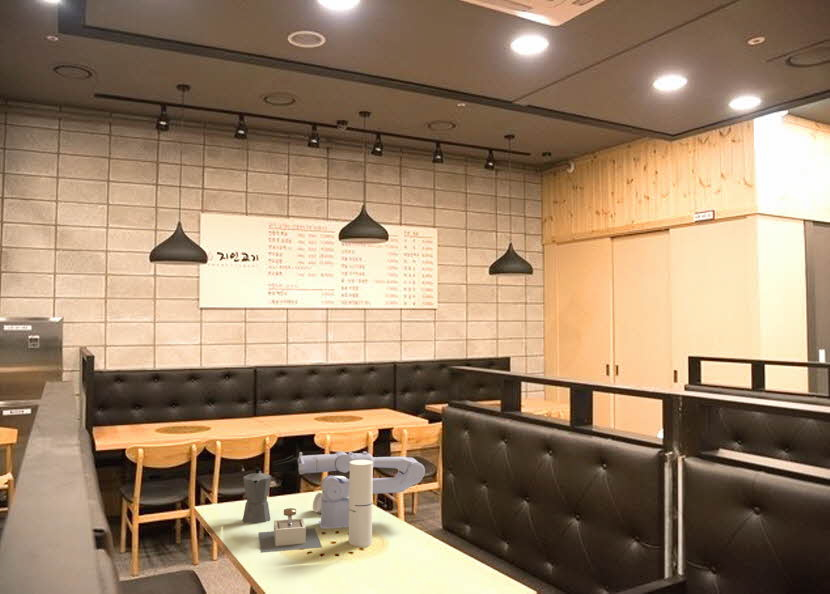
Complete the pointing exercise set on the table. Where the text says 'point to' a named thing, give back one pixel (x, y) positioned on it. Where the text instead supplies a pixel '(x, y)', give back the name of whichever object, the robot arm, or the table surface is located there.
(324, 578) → the table surface
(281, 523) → the plunger
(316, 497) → the spread jar
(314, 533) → the mat
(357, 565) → the table surface
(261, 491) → the coffeepot
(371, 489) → the cylindrical container
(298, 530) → the press
